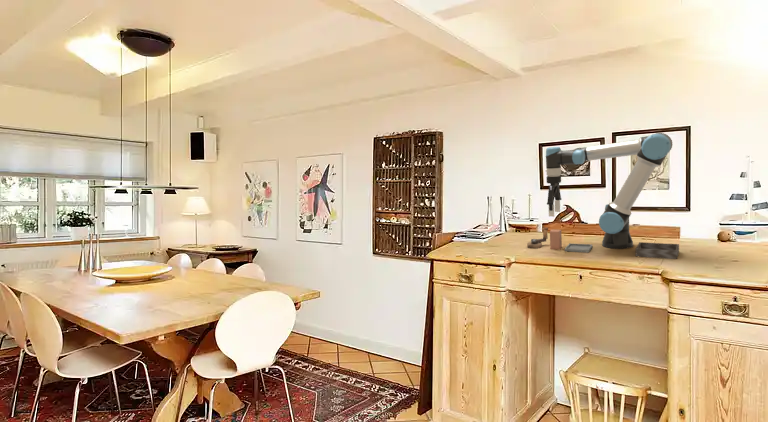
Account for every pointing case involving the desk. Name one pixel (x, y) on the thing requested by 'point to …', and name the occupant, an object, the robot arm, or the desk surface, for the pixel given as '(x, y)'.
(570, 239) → the desk surface
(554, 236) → the post
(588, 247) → the tray
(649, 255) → the bin
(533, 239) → the crank
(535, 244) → the crank base
